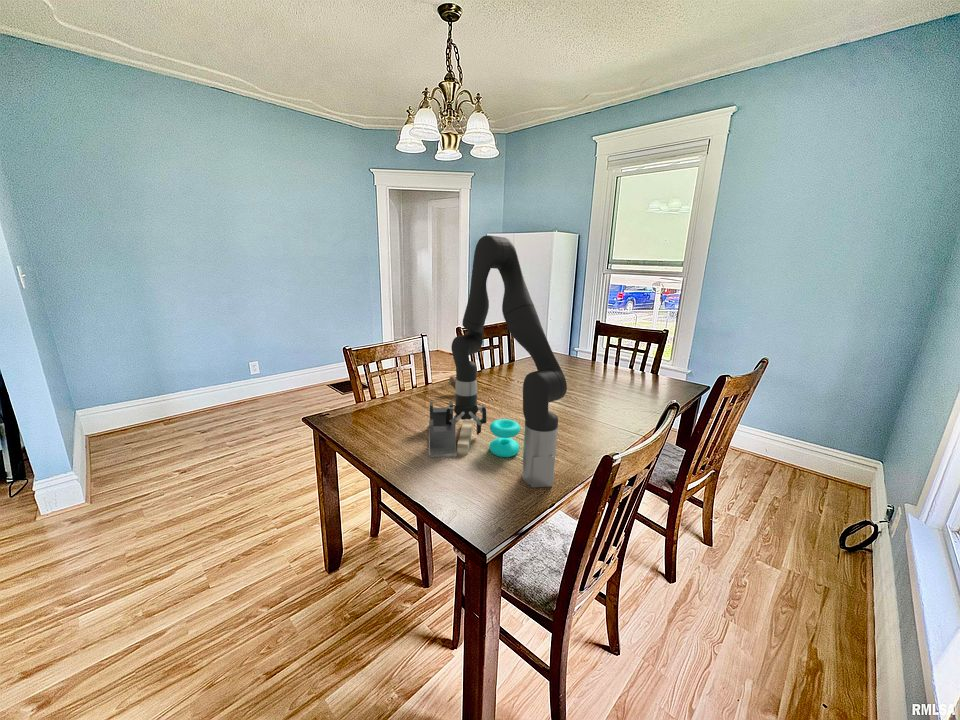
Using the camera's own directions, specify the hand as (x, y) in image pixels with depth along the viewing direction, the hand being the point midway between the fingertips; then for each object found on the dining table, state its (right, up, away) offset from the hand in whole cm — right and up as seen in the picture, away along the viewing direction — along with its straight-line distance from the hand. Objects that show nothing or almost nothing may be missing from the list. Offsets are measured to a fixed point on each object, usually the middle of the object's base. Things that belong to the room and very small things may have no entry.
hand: (465, 434), depth 136 cm
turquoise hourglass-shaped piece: (+13, -4, -8) cm, 16 cm away
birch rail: (0, -2, 0) cm, 2 cm away
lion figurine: (-3, +9, +41) cm, 42 cm away
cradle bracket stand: (-8, -2, -1) cm, 9 cm away
